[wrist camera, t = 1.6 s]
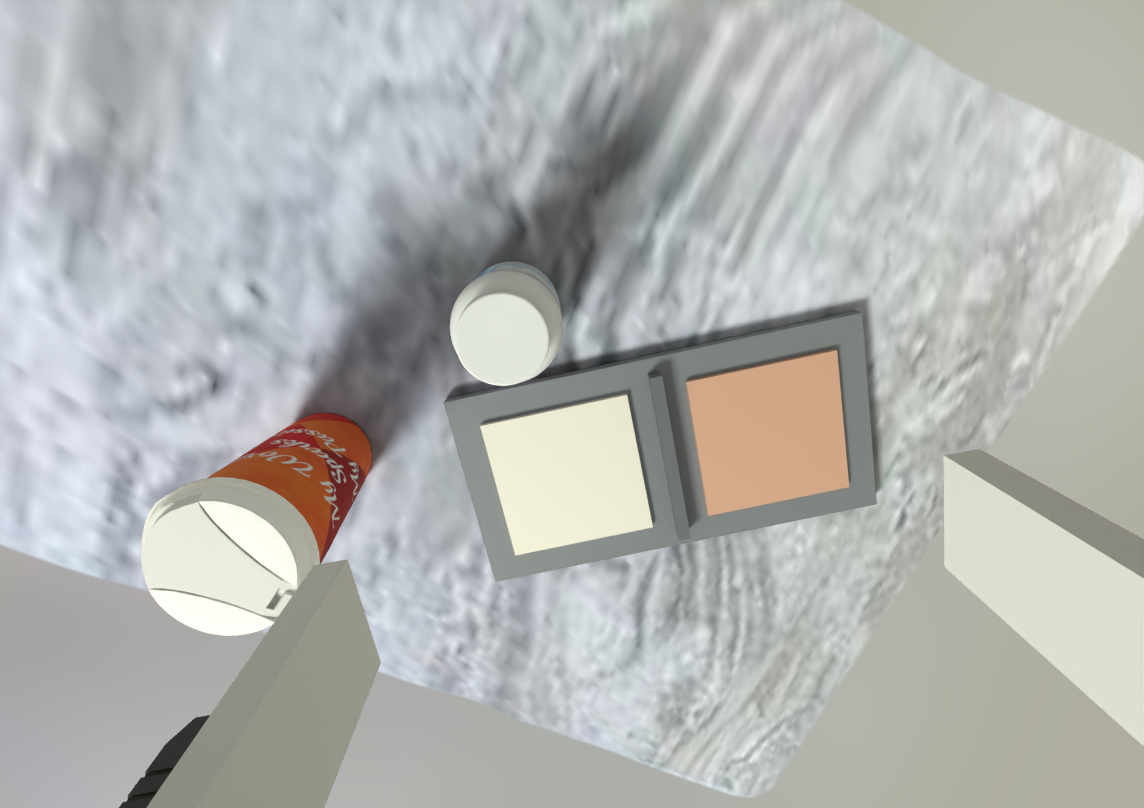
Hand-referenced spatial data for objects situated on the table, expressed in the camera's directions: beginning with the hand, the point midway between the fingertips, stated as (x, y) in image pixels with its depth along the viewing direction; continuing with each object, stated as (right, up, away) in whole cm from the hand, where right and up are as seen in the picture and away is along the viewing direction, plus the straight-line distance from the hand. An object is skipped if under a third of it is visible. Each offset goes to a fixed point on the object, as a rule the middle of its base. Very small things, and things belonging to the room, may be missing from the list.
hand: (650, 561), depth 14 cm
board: (+5, 0, +30) cm, 31 cm away
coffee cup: (-19, 0, +30) cm, 35 cm away
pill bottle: (-5, +10, +27) cm, 30 cm away
